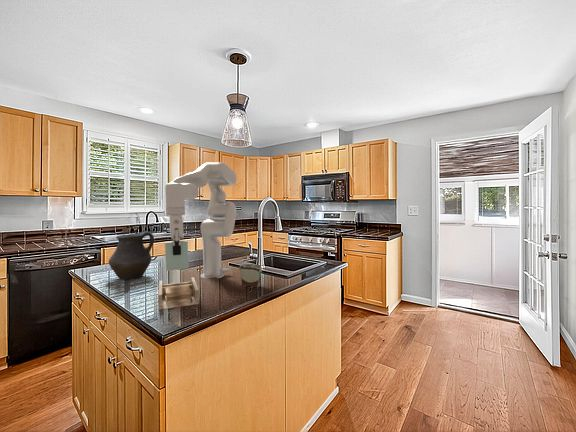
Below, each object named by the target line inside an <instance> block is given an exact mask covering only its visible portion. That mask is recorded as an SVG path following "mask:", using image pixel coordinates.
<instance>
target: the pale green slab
mask: <svg viewBox="0 0 576 432" xmlns="http://www.w3.org/2000/svg"><path fill="white" fill-rule="evenodd" d="M188 243H189V242H188V240H180V245H181V255H173V240H172V241H164V248H165V250H164V251H165V270H166V272H169V271H175V270H177V271H178V270H187V269H189V245H188Z"/></svg>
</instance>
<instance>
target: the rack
mask: <svg viewBox="0 0 576 432" xmlns="http://www.w3.org/2000/svg"><path fill="white" fill-rule="evenodd" d="M158 282H159V283H158V294H157V297H158V310H166V309H171V308H179V307H185V306H187V307H188V306H193V305H199V304H200V299H199V297H200V293H199V292H200V290H199V288H198V284H197V282H196V280H195V277H194V276H192V277H190V281H184V282H175V283H166V284H163V280H159V281H158ZM187 285H189V288H190V289H191V302H186V303H180V304H173V305H167V306H166V301H165V296H166V292H165V288H172V287H179V286H187Z"/></svg>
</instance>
